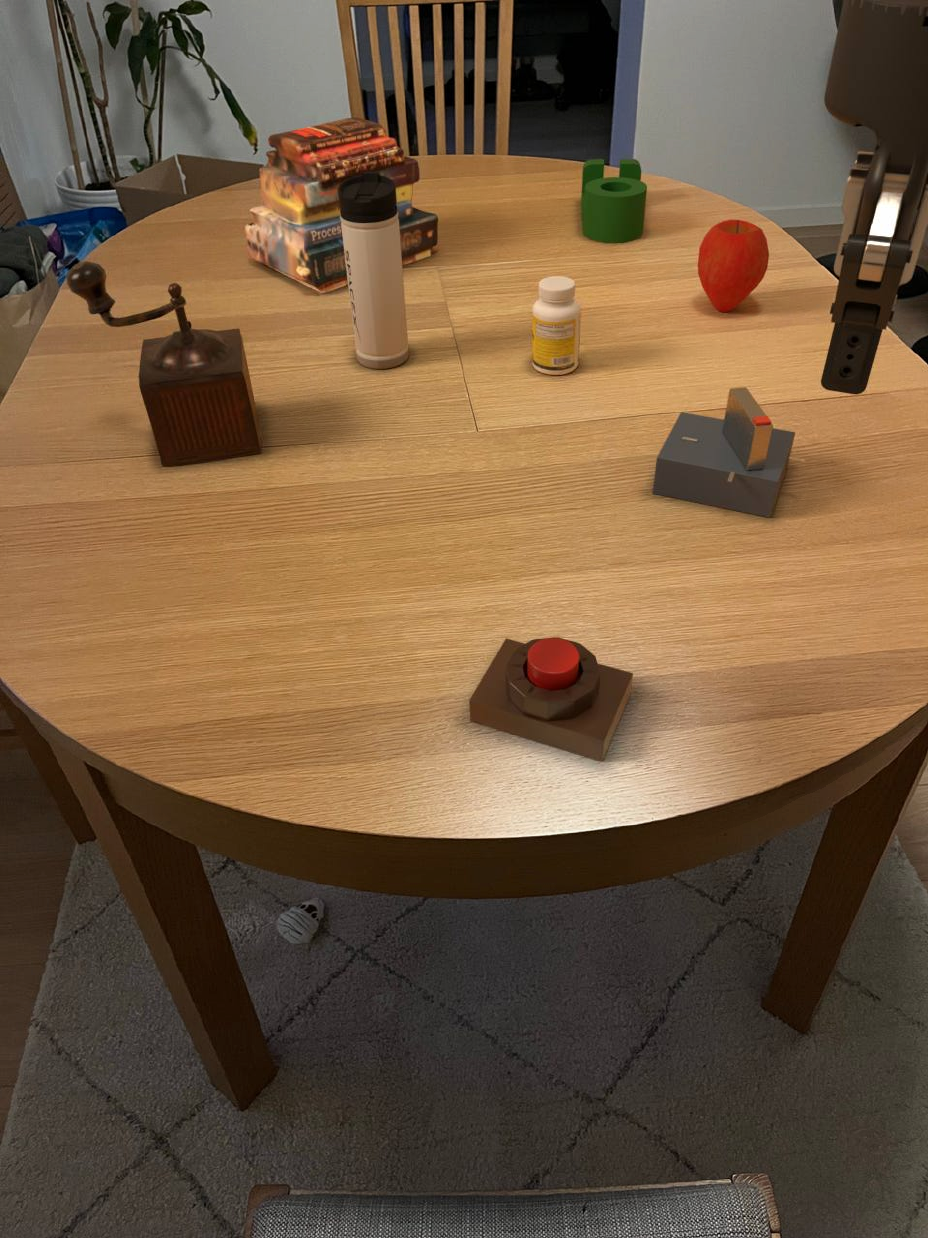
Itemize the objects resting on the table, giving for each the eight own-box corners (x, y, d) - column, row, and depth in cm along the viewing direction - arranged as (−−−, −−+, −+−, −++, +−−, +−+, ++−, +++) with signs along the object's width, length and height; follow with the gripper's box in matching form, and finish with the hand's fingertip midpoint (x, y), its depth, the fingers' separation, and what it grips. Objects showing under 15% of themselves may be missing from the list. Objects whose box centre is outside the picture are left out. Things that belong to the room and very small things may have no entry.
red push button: (585, 663, 66) (586, 645, 65) (568, 696, 64) (569, 679, 63) (537, 650, 68) (538, 632, 66) (519, 682, 65) (519, 665, 64)
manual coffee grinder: (258, 403, 104) (225, 239, 92) (263, 454, 96) (228, 282, 84) (115, 422, 102) (62, 257, 90) (108, 476, 94) (50, 302, 82)
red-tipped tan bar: (721, 431, 89) (729, 385, 85) (738, 429, 89) (746, 384, 85) (746, 470, 83) (756, 424, 80) (764, 469, 83) (774, 422, 80)
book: (311, 300, 125) (290, 163, 113) (242, 264, 135) (217, 136, 124) (441, 253, 135) (434, 124, 124) (368, 224, 146) (356, 102, 134)
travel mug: (413, 345, 114) (400, 170, 100) (404, 370, 109) (390, 190, 95) (362, 344, 114) (343, 170, 101) (352, 369, 109) (330, 190, 96)
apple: (773, 314, 117) (791, 225, 109) (718, 328, 114) (732, 239, 107) (730, 290, 123) (744, 204, 115) (677, 303, 120) (688, 217, 113)
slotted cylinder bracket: (644, 242, 136) (649, 196, 132) (583, 242, 137) (585, 196, 133) (637, 201, 149) (641, 158, 145) (581, 201, 150) (583, 159, 146)
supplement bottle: (546, 351, 111) (548, 269, 105) (586, 361, 109) (591, 278, 102) (522, 369, 108) (523, 286, 101) (563, 380, 106) (567, 296, 99)
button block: (630, 693, 69) (635, 655, 66) (602, 762, 64) (606, 723, 62) (505, 658, 72) (505, 620, 70) (469, 721, 68) (468, 682, 65)
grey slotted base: (805, 467, 91) (814, 430, 88) (785, 531, 83) (794, 492, 80) (677, 443, 95) (682, 407, 92) (647, 502, 87) (652, 464, 84)
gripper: (866, -45, 42) (789, 323, 53) (824, 7, 33) (743, 435, 45) (1052, -42, 39) (930, 343, 51) (1061, 15, 31) (910, 465, 42)
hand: (843, 385), depth 48 cm, fingers closed
